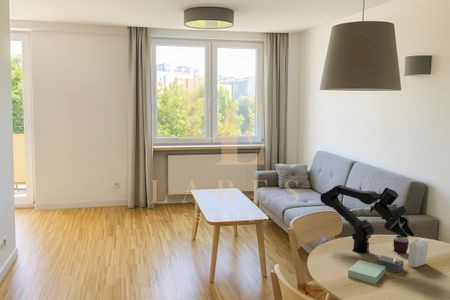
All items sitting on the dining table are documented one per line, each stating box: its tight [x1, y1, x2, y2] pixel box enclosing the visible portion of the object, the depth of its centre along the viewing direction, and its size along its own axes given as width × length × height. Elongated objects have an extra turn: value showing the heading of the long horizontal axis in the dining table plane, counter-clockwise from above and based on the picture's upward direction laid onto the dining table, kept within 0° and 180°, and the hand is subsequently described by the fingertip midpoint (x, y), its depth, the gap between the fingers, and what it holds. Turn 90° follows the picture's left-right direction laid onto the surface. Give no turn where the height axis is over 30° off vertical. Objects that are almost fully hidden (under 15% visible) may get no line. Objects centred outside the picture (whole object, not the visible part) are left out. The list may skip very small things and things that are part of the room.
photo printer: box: [407, 238, 429, 268], centre depth 205 cm, size 10×4×12 cm, turn 123°
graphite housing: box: [376, 255, 405, 274], centre depth 201 cm, size 10×6×5 cm, turn 52°
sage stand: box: [347, 259, 386, 285], centre depth 194 cm, size 12×14×3 cm
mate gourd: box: [392, 234, 410, 255], centre depth 220 cm, size 8×8×15 cm
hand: (410, 236), depth 201 cm, fingers open, 9 cm apart
